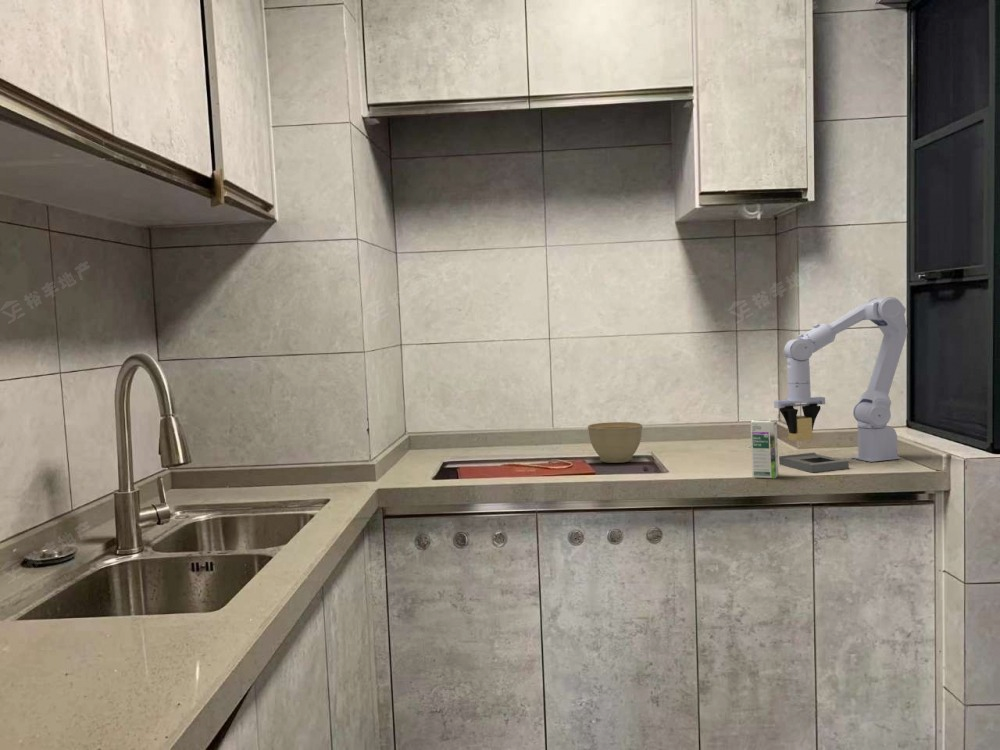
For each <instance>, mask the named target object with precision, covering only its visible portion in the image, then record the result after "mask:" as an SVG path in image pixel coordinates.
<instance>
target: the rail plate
mask: <svg viewBox="0 0 1000 750" xmlns="http://www.w3.org/2000/svg"><path fill="white" fill-rule="evenodd" d="M779 464H780V466H784V467H788V468H792V469H796V470H800V471H803V472H807V473H813V474H814V473H824V472H830V471H840V470H849V469H850V467H849V459H840V458H836V457H831V456H827V455H823V454H817V453H816V452H805V453H797V454H796V453H795V454H789V455H778V465H779Z"/></svg>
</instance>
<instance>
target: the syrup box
mask: <svg viewBox="0 0 1000 750" xmlns="http://www.w3.org/2000/svg"><path fill="white" fill-rule="evenodd" d="M777 424H778V423H777V419H776V418H775V419H768V418H767V419H766V418H765V419H761V418H759V419H756V418H755V419H752V420H751V421H750V423H749V425H750V443H751V445H750V446H751V463H752V464H751V465H752V466H751V467H752V469H751V470H752V471H751V473H752V478H754V479H757V478H758V479H776V478H777V477H778V475H779V472H780V471H779V455H778V454H779V449H778V425H777Z"/></svg>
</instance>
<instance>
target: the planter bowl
mask: <svg viewBox="0 0 1000 750" xmlns="http://www.w3.org/2000/svg"><path fill="white" fill-rule="evenodd" d="M587 430H588V435H589V441H590V443H591V446H592V448H593V450H594V451H595V453H596V454H597V455H598V457H599V460H600V462H603V463H609V464H610V463H614V464H617V463H623V464H624V463H627V462H631V461H632V460H633V457H634V455H635V453H636V452H637V450H638V448H639V446H640V444H641V441H642V440H641V439H642V434H643V433H642V430H643V423H639V422H630V421H618V422H617V421H615V422H612V421H611V422H599V423H598V422H597V423H592V424H588V426H587Z"/></svg>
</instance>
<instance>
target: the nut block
mask: <svg viewBox="0 0 1000 750" xmlns="http://www.w3.org/2000/svg"><path fill="white" fill-rule="evenodd" d="M787 440H792V441H796V442H803V441H812V440H814V439H813V431H812V418H811V417H806V416H804V415H797V417H796V434H792V433H789V430H788V429H787Z"/></svg>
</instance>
